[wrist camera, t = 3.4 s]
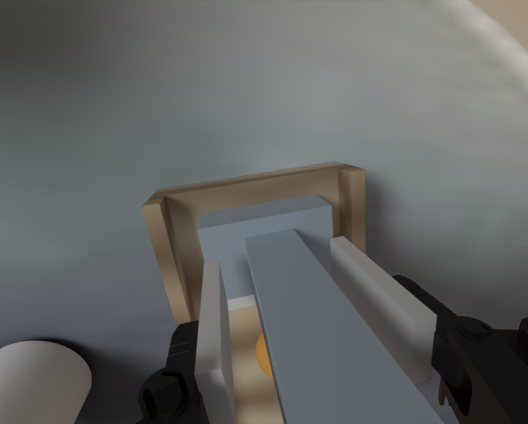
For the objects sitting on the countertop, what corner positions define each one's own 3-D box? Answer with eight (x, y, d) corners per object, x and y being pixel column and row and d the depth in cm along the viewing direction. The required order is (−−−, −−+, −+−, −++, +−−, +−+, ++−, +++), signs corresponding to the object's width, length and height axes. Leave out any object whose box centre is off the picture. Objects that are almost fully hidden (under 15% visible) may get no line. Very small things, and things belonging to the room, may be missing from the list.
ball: (249, 317, 21) (256, 358, 18) (297, 307, 22) (313, 344, 18) (256, 355, 23) (264, 400, 19) (300, 344, 23) (317, 386, 19)
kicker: (200, 213, 18) (138, 542, 4) (314, 193, 19) (613, 392, 5) (216, 286, 20) (216, 693, 5) (319, 265, 21) (543, 563, 6)
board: (157, 189, 20) (134, 214, 14) (335, 161, 21) (378, 173, 16) (230, 463, 30) (233, 542, 24) (346, 429, 32) (374, 495, 26)
